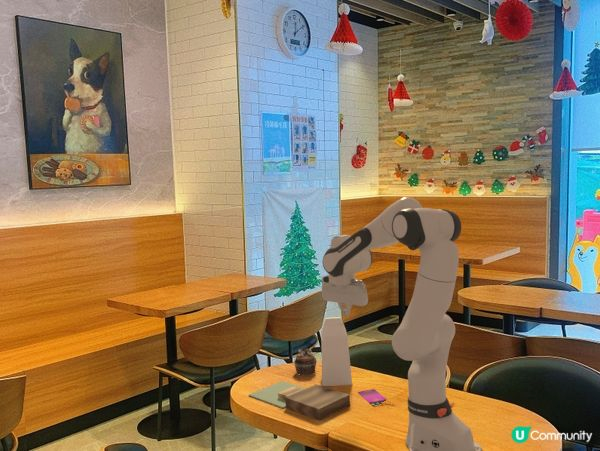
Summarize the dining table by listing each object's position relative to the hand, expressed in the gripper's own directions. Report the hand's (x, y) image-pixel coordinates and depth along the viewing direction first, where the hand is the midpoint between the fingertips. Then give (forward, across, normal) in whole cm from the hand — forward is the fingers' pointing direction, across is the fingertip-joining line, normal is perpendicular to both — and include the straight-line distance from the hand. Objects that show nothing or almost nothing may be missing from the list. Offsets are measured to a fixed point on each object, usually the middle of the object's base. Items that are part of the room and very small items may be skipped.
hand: (345, 314), depth 210 cm
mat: (+31, +21, +15) cm, 41 cm away
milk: (+31, +15, -9) cm, 36 cm away
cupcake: (+31, +32, -8) cm, 45 cm away
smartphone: (+32, -9, -4) cm, 33 cm away
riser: (+31, +2, +15) cm, 35 cm away
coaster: (+31, +15, +15) cm, 37 cm away
